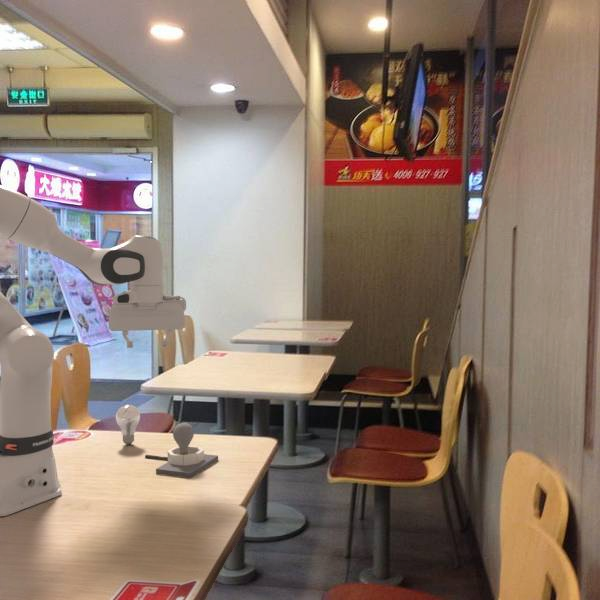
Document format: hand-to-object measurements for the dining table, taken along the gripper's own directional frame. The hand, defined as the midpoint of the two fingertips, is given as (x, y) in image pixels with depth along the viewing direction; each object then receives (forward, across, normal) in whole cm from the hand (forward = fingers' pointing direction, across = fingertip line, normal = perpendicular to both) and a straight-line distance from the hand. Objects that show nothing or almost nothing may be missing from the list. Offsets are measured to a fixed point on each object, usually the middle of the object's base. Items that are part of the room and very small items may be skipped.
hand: (147, 346), depth 169 cm
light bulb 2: (+30, -9, +6) cm, 32 cm away
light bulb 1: (+31, +7, -16) cm, 36 cm away
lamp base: (+31, -6, +6) cm, 32 cm away
